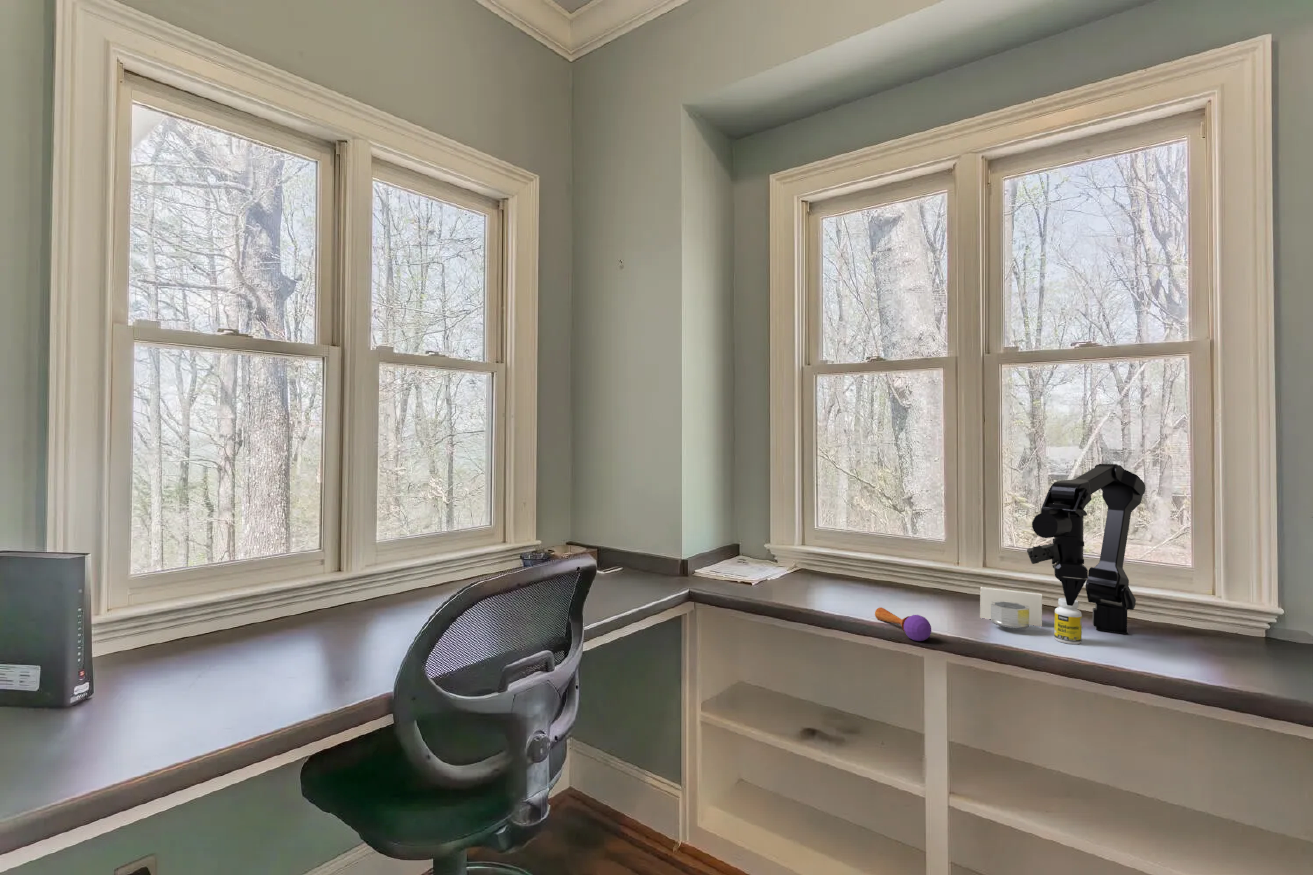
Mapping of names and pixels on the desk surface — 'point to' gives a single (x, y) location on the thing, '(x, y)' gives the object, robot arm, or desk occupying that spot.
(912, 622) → the purple maraca
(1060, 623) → the supplement bottle
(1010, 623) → the cup bracket
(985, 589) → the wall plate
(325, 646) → the desk surface
